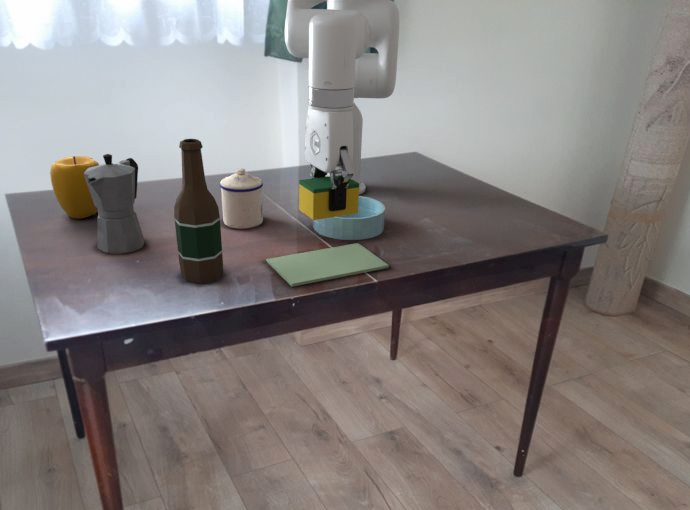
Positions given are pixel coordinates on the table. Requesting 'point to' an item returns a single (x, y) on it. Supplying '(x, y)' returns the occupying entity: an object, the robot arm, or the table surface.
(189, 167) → the beer bottle
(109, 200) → the coffeepot
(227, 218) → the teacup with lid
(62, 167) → the apple
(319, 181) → the sponge
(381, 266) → the mat
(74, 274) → the table surface
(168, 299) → the table surface
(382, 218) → the bowl
